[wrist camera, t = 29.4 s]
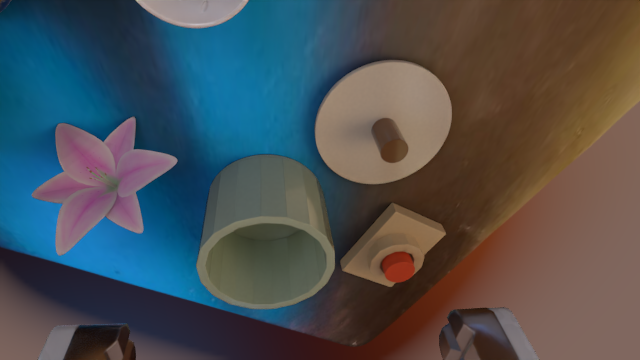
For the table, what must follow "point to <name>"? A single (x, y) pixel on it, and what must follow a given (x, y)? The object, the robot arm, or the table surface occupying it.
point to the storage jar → (265, 234)
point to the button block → (392, 243)
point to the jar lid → (383, 121)
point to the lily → (99, 180)
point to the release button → (398, 266)
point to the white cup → (193, 11)
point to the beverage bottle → (4, 4)
